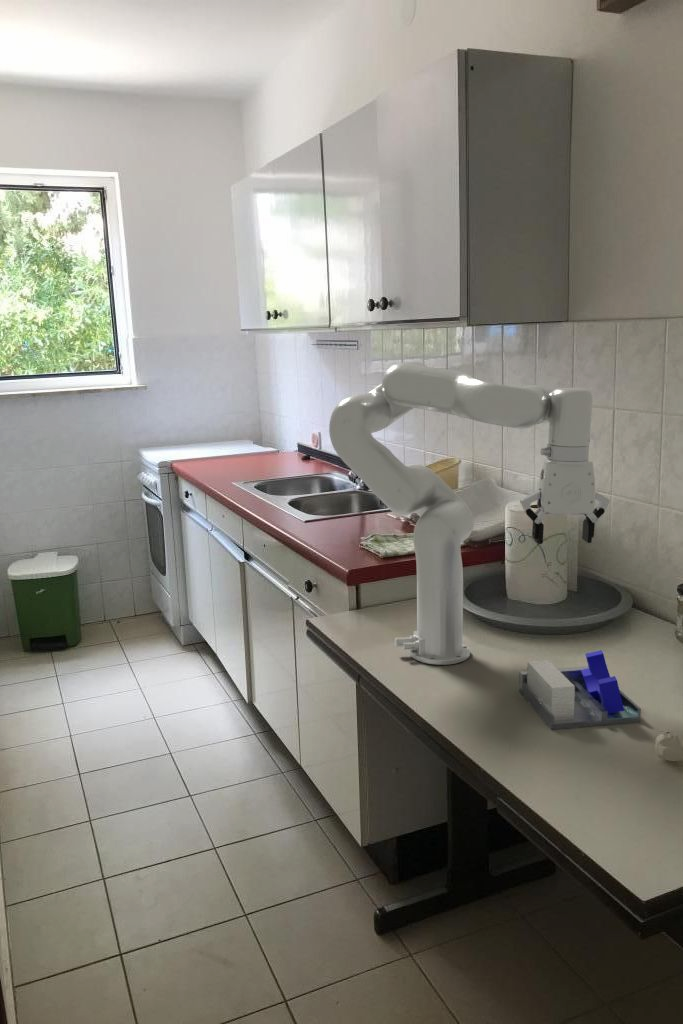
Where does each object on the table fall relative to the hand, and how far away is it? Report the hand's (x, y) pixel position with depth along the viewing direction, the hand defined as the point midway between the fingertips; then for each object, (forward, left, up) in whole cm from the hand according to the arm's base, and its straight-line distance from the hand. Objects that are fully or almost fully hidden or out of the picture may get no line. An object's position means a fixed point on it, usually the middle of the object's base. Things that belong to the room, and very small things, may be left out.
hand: (562, 541), depth 162 cm
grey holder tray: (-3, -16, -26) cm, 31 cm away
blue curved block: (+2, -17, -25) cm, 30 cm away
